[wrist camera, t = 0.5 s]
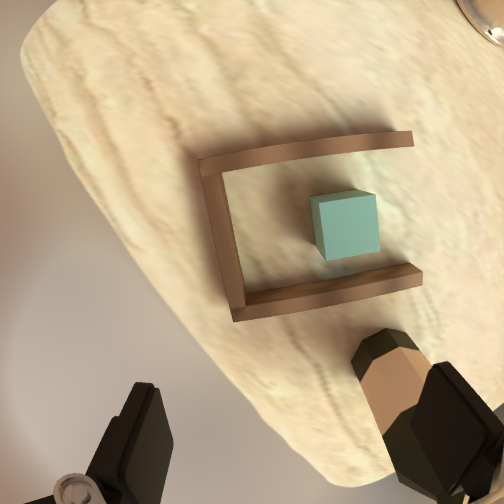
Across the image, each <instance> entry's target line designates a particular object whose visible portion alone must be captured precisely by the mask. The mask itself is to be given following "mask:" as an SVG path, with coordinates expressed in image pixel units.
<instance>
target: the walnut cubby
mask: <svg viewBox="0 0 504 504" xmlns="http://www.w3.org/2000/svg"><path fill="white" fill-rule="evenodd" d="M412 146H414V142H413V136H412V131H397V132H382V133H370V134H358V135H348V136H339V137H330V138H322V139H314V140H307V141H299V142H292V143H286V144H279V145H273V146H267V147H261V148H256V149H250V150H245V151H239V152H234V153H229V154H224V155H219V156H214V157H210V158H205V159H200V160H198V164H199V169H200V174H201V179H202V184H203V189H204V194H205V199H206V204H207V208H208V213H209V218H210V223H211V227H212V232H213V237H214V241H215V246H216V250H217V255H218V259H219V264H220V268H221V272H222V277H223V281H224V286H225V290H226V294H227V298H228V303H229V307H230V311H231V315H232V319H233V322H239V321H246V320H253V319H259V318H265V317H271V316H277V315H283V314H289V313H295V312H300V311H306V310H311V309H316V308H322V307H327V306H332V305H337V304H342V303H347V302H352V301H356V300H361V299H366V298H370V297H375V296H379V295H384V294H388V293H392V292H397V291H401V290H405V289H409V288H413V287H417V286H421V285H422V282H423V272H422V271H421V270H419V269H418V268H417V267H415V266H414V265H413V264H411V263H407V264H402V265H398V266H393V267H388V268H384V269H379V270H374V271H369V272H364V273H359V274H354V275H349V276H344V277H339V278H333V279H328V280H323V281H317V282H312V283H306V284H301V285H295V286H290V287H284V288H278V289H272V290H267V291H261V292H255V293H248V294H246V290H245V285H244V280H243V275H242V270H241V266H240V261H239V256H238V251H237V246H236V241H235V236H234V231H233V226H232V221H231V216H230V211H229V206H228V201H227V196H226V191H225V186H224V181H223V176H222V172H227V171H233V170H238V169H243V168H248V167H254V166H260V165H265V164H271V163H277V162H283V161H290V160H296V159H303V158H310V157H317V156H324V155H332V154H340V153H348V152H357V151H366V150H376V149H387V148H399V147H412Z"/></svg>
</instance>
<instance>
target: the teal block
mask: <svg viewBox="0 0 504 504" xmlns="http://www.w3.org/2000/svg"><path fill="white" fill-rule="evenodd" d="M309 201H310V208H311V214H312V221H313V228H314V236H315V243H316V247H317V248H318V250H319V251H320V253H321V254H322V256H323V257H324V259H325V260H326V261H330V260H336V259H341V258H347V257H352V256H357V255H363V254H368V253H373V252H378V251H380V240H379V227H378V216H377V206H376V196H375V194H372V193H368V192H365V191H361V190H358V189H357V190H350V191H343V192H336V193H330V194H323V195H317V196H310V197H309Z"/></svg>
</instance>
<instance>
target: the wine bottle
mask: <svg viewBox="0 0 504 504" xmlns="http://www.w3.org/2000/svg"><path fill="white" fill-rule="evenodd" d="M351 363H352V366H353V368H354V370H355V373H356V375H357V377H358V380H359V382H360V384H361V387H362V389H363V391H364V394H365V396H366V398H367V401H368V403H369V406H370V408H371V410H372V413H373V415H374V418H375V420H376V423H377V425H378V428H379V430H380V433H381V435H382V438H383V440H384V443H385V445H386V448H387V450H388V453H389V455H390V458H391V461H392V463H393V466H394V469H395V471H396V473H397V476H398V479H399V482H400V483H402V484H404V485H406V486H408V487H410V488H412V489H414V490H416V491H418V492H419V493H421V494H423V495H425V496H427V497H429V498H431V499H434V500H435V501H436V502H437V504H463V501H464V498H465V495H466V493H465V491H464V490H463V491H462V492H459V493H457V494H455V495H453V496H450V494H449V492H448V491H445V490H444V489H443V487H442V485H441V483H440V481H439V479H438V477H437V476H436V474H435V472H434V470H433V468H432V466H431V464H430V462H429V460H428V458H427V456H426V455H425V453H424V451H423V449H422V447H421V445H420V443H419V442H418V440H417V438H416V436H415V434H414V432H413V431H412V429H411V419H412V416H413V414H414V411H415V409H416V406H417V403H418V400H419V397H420V395H421V392H422V389H423V386H424V383H425V380H426V376H427V373H428V371H429V369H431V368H432V365H431V364H430V363H429V361H428V360H427V359H426V358H425V356H424V355H423V354H422V352H421V351H420V350H419V348H418V347H417V346H416V345H415V343H414V342H413V341H412V340H411V338H410V337H409V336H408V334H407V333H404V332H400V331H396V330H392V329H388V328H385V329H384V330H382V331H380V332H378V333H376V334H374V335H372V336H370V337H368V338H366V339H364V340H362V342H361V344H360V346H359V348H358V350H357V351H356V353H355V355H354V357H353V359H352V361H351Z"/></svg>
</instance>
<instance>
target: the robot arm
mask: <svg viewBox="0 0 504 504" xmlns="http://www.w3.org/2000/svg"><path fill="white" fill-rule="evenodd" d="M457 2H458V4H459V6H460V8H461V10H462V11H463V13H464V14H465V16H466V17H467V18H468V20H469V21H470V22H471V24H472V25H473V26H474V27H475V28H476V29H477V30H478V31H479V32H480V33H481V34H482V35H483V36H484V37H485V38H487V39H488V40H489V41H490V42H492V43H494V44H495V45H497V46H499V47H502V48H504V0H457ZM411 429H412V431H413V432H414V434H415V436H416V438H417V440H418V442H419V443H420V445H421V447H422V449H423V451H424V453H425V455H426V456H427V458H428V460H429V462H430V464H431V466H432V468H433V470H434V472H435V474H436V476H437V477H438V479H439V481H440V483H441V485H442V487H443V489H444V490H445V491H448V492H449V494H450V496H453V495H455V494H457V493H459V492H462V491H463V490H464V491H465V493H466V495H465V498H464V501H463V504H504V425H503V424H502V423H501V421H500V420H499V419H498V418H497V416H496V415H495V414H494V413H493V412H492V410H491V409H490V408H489V407H488V406H487V404H486V403H485V402H484V401H483V400H482V399H481V397H480V396H479V395H478V394H477V393H476V392H475V390H474V389H473V388H472V387H471V386H470V385H469V384H468V382H467V381H466V380H465V379H464V378H463V377H462V376H461V374H460V373H459V372H458V371H457V370H456V369H455V368H454V367H453V366H452V365H451V363H449V362H448V361H445V362H441V363H437V364H434V365H433V366H432V368H431V369H429V371H428V373H427V376H426V380H425V383H424V386H423V389H422V392H421V395H420V397H419V400H418V403H417V406H416V409H415V411H414V414H413V416H412V419H411ZM172 450H173V437H172V434H171V431H170V428H169V424H168V420H167V417H166V413H165V409H164V406H163V402H162V398H161V394H160V390H159V388H155V387H154V385H153V384H152V383H143V382H136V383H135V384H134V386H133V388H132V390H131V392H130V394H129V396H128V398H127V401H126V402H125V404H124V406H123V409H122V411H121V413H120V415H119V416H114V417H113V418H112V419H111V421H110V423H109V425H108V427H107V429H106V431H105V433H104V436H103V437H102V440H101V442H100V444H99V446H98V448H97V450H96V452H95V454H94V457H93V459H92V461H91V463H90V465H89V467H88V469H87V472H86V474H85V475H83V474H77V473H74V474H68V475H66V476H63V477H62V478H60V479H59V480H58V481H57V482H56V484H55V486H54V491H53V495H51V496H47V497H45V498H41V499H38V500H35V501H31V502H28V503H25V504H160V502H161V497H162V493H163V488H164V484H165V480H166V476H167V472H168V467H169V463H170V459H171V455H172Z"/></svg>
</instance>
